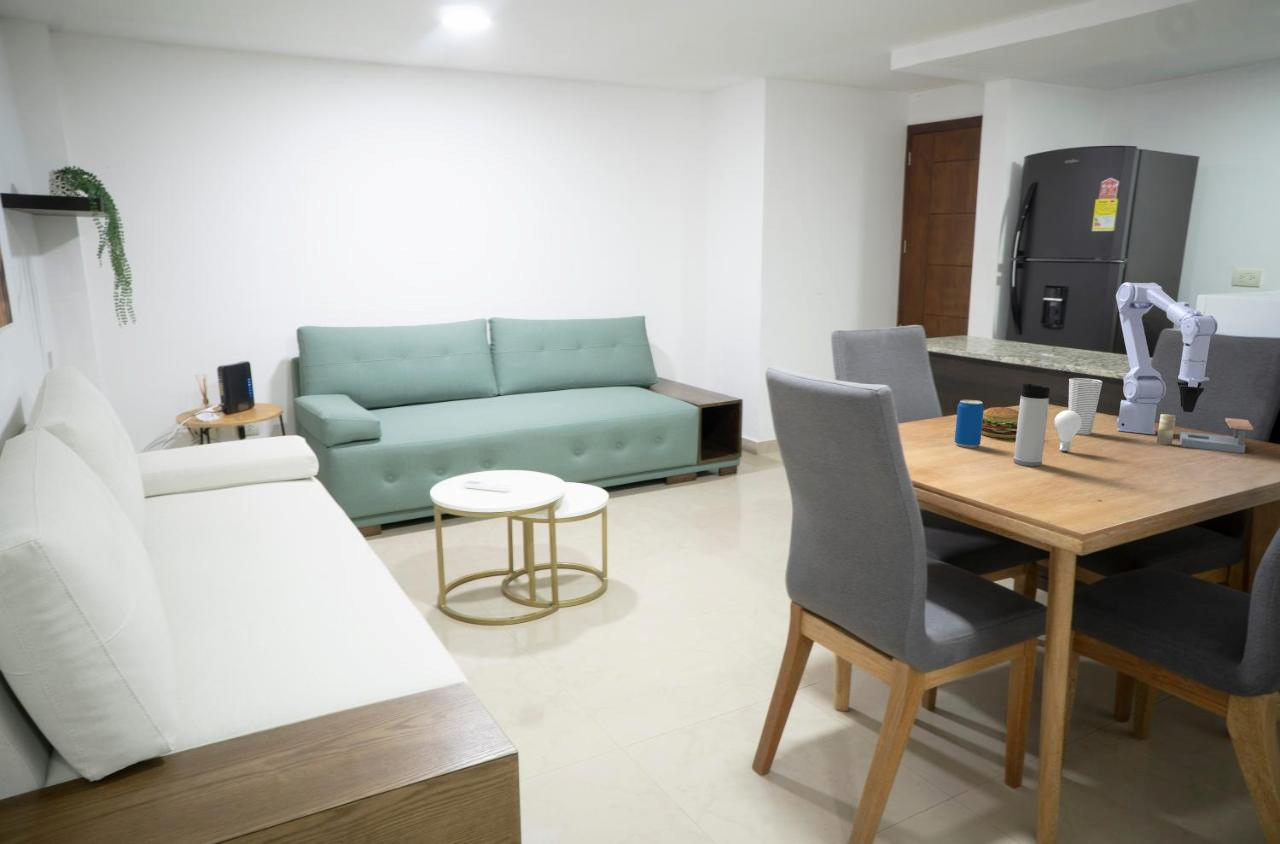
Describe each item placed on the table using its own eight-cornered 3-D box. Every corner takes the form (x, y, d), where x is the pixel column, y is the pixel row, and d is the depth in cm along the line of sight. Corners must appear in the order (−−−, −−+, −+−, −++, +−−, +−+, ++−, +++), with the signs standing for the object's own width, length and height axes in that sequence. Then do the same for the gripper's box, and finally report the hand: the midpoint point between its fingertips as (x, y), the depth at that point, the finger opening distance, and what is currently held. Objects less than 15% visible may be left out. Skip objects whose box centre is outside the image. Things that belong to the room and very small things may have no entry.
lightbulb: (1052, 447, 222) (1056, 407, 220) (1078, 451, 219) (1083, 409, 217) (1049, 452, 217) (1054, 410, 215) (1077, 455, 214) (1082, 413, 211)
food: (981, 439, 232) (983, 411, 230) (970, 429, 245) (973, 402, 244) (1033, 442, 229) (1036, 413, 228) (1020, 431, 243) (1023, 405, 241)
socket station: (1181, 446, 226) (1185, 421, 225) (1179, 438, 237) (1182, 414, 236) (1249, 453, 219) (1253, 427, 217) (1243, 444, 230) (1247, 419, 228)
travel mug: (1006, 461, 206) (1015, 381, 202) (1027, 459, 208) (1036, 380, 204) (1026, 467, 200) (1035, 385, 196) (1047, 465, 203) (1056, 384, 199)
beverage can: (975, 443, 226) (980, 399, 224) (983, 448, 220) (987, 404, 217) (951, 442, 227) (955, 399, 224) (957, 447, 220) (962, 403, 218)
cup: (1100, 436, 237) (1107, 382, 234) (1068, 435, 239) (1075, 381, 236) (1089, 430, 246) (1096, 378, 243) (1058, 429, 247) (1065, 377, 244)
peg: (1156, 444, 229) (1160, 415, 227) (1156, 441, 232) (1160, 413, 230) (1172, 445, 227) (1176, 417, 225) (1171, 443, 230) (1175, 415, 228)
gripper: (1214, 364, 217) (1206, 415, 220) (1209, 358, 230) (1201, 407, 232) (1182, 362, 221) (1175, 412, 223) (1178, 357, 233) (1171, 404, 236)
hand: (1186, 409), depth 228 cm, fingers open, 7 cm apart
